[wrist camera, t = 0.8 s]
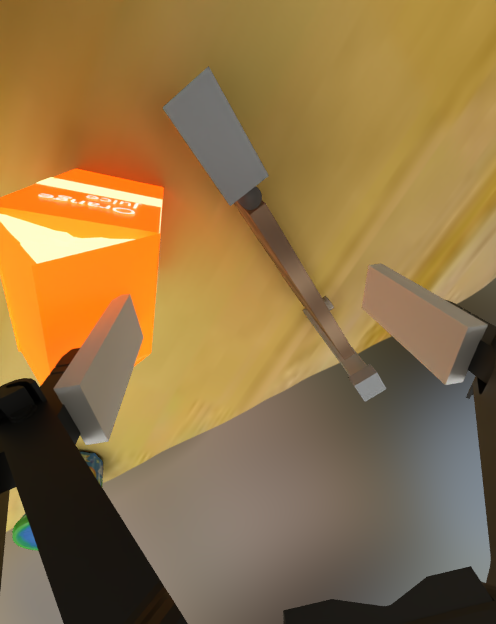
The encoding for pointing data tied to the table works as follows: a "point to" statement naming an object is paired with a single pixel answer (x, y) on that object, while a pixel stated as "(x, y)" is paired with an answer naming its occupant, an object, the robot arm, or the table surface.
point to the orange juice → (77, 259)
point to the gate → (291, 267)
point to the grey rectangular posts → (240, 176)
